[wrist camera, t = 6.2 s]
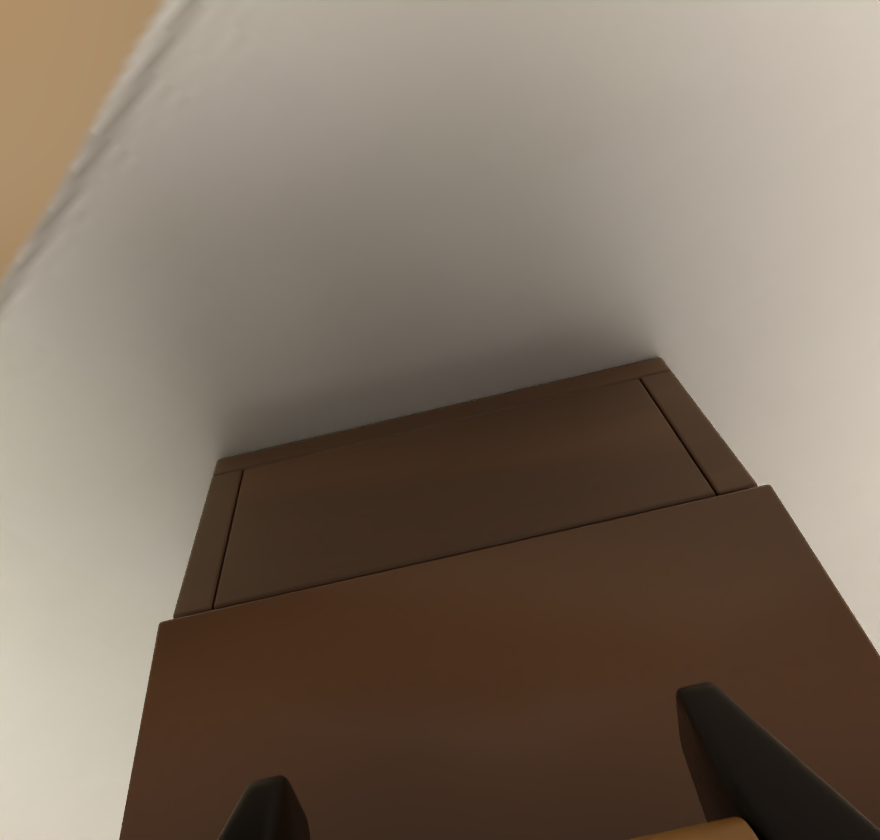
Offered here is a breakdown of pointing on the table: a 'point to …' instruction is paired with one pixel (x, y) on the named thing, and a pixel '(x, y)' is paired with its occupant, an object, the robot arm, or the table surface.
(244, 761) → the lid
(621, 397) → the open wooden crate
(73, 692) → the table surface
